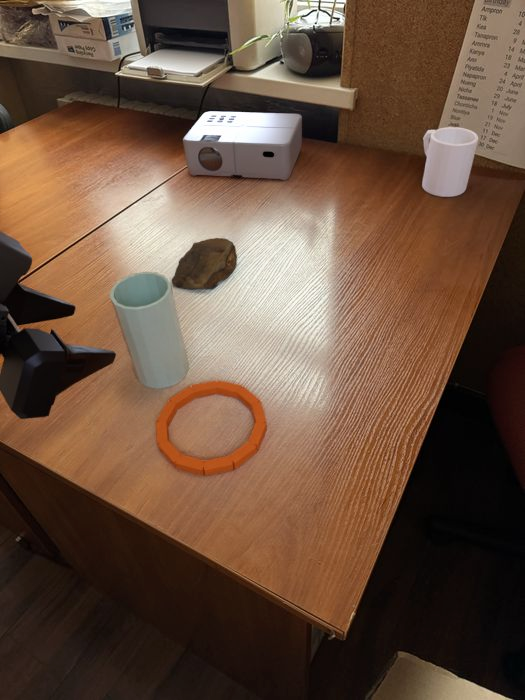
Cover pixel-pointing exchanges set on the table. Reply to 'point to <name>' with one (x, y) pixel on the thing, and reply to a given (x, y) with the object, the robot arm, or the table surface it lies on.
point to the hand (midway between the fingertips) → (93, 332)
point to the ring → (218, 463)
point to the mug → (448, 160)
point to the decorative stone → (206, 264)
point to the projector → (244, 144)
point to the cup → (150, 328)
